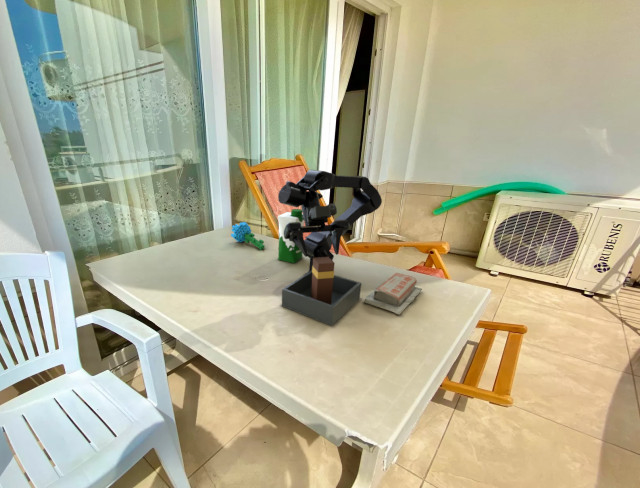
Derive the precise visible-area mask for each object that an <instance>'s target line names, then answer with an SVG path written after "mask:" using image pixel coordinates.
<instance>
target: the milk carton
mask: <svg viewBox="0 0 640 488" xmlns="http://www.w3.org/2000/svg"><path fill="white" fill-rule="evenodd" d="M302 216H303V212H302V208H293V209H291V210H290V211H286V212H283V213H282V214H279V215H278V216H277V220H278V221H277V222H278V256H277V258H278V260H279V261H282V262H287V263H291V264H296V263H297V262H298V261H300V260H301V259H302V258H303V253H302V252H301V250H300V249H299V248H298V247H297V246H296V245H295V244H294V242H293V241H289V239H285V238H284V229H285V227H286V225H287V223H290V222H300V223H301V226H305V222H304V220H303V219H302Z"/></svg>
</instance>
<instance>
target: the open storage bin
mask: <svg viewBox="0 0 640 488" xmlns="http://www.w3.org/2000/svg"><path fill="white" fill-rule="evenodd" d="M307 272H308V273H307ZM307 272H306V273H307V274H306V273H305V274H303V275H302V276H300V277H299V278H297V279H296V280H294V281H293V282H290V283H289V284H288V285H286V286H284V287H283V288H282V289H281V307H284V308H286V309H288V310H290V311H293V312H296V313H299V314H300V315H303V316H305V317H308V318H311V319H313V320H316V321H319V322H321V323H323V324H325V325H328V326H331V327H332V326H334V325H335V323H337V322H338V321H339V320H340V318H342V317H343V316H344V315H345V314H347V312H348V311H349V310H350V309H351V308H352V307H353V306H354V305H356V303H357V302H359V300H360V298H361V288H362V282H360V281H358V280H353V279H350V278H347V277H343V276H339V275H335V274H334V278H333V288H332V300H331V305H330V304H327V303H324V302H321V301H318V300H316V299H313V298H311V289H312V270H311V271H310V272H309V271H307Z"/></svg>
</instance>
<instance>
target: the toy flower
mask: <svg viewBox="0 0 640 488" xmlns="http://www.w3.org/2000/svg"><path fill="white" fill-rule="evenodd" d="M231 232H233V233H231V234H230V236H231V237H232V238H233V239H234V240H235V241H237V242H238V243H239V242H240V243H243V242H245V243H246V244H249V243H251V244H252V245H253V246H255V247H256V248H258V249H259V250H264V249H265V246H266V245H265V244H264V242H265V241H264V240H263V239H259V240H258V239H256V237H255V234H254V233H253V232H252V229H251V226H250V225H249V224H248V223H247V222H245V221H241V222H239V224H238V223H236V224H234V225H232V227H231Z"/></svg>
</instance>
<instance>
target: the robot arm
mask: <svg viewBox="0 0 640 488" xmlns="http://www.w3.org/2000/svg"><path fill="white" fill-rule="evenodd" d="M334 188H350V189H352V191H351V195H352V197H353V198H352V201H351V204H350V206H349V208H347V209H346V210H345V211H344V212H343V213H342V214H340V215H339V216H338V217H337V218H336V219H335V220H333V221H332V222H331V223H330V224H326V223H328V222H329V218H332V216H336V215H337V213H338V209H337V205H336V203H328V204H327V205H321V203H320V200H321V199H322V198H323V196H324V195H323V194H322V193H319V192H318V191H327V190H330V189H334ZM277 199H278V202H279V203H280V204H282V205H285V206H289V207H293V208H299V207H301V208H300V209H301V210H302V214H303V216H302V219H303V220H304V226H301V223H300V222H290V223H287V225H286V227H285V229H284V238H285V239H289V241H293V242H294V244H295V245H296V246H297V247H298V248H299V249H300V250H301V252H302V255H303V256H304V257H305V258H309V265H308V266H309V267H308V271H307V272H306V273H305V274H307V273H308V272H310V271H311V270H312V266H313V258H319V257H329V258H330V259H331V260H332V261H334V257H335V255H336V256H338V255H339V253H340V245H341V240H342V239H341V238H342V236H344V235H345V234H346V233H347V232H348V230H350V229H351V226H353V225H354V224H355V222H357V221H358V220H359V219H360V218H361V217H363V216H366V215H367V216H368V215H370V214H372V213H373V212H375V211H377V210H378V209H379V208H380V207H381V206H382V202H383V199H382V196H381V194H380V193H379V191H378V189H377V188H376V187H375V186H374V185H373V184H372V183H371V181H370V179H369V177H367V176H362V175H340V174H334V173H331V172H329V171H326V170H318V169H308V170H307V172H306V173H304V176H303V177H301V178H300V180H298V181H297V182H293V181H289V180H287V181H286V182H285V184H284V185H283V186H282V187H281V188H280V190H279V191H278V195H277ZM307 233H309V234H308V235H307V236H305V238H304V234H307ZM332 248H333V251H334V254H335V255H334V254H333V253H332V252H331V250H332Z"/></svg>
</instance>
